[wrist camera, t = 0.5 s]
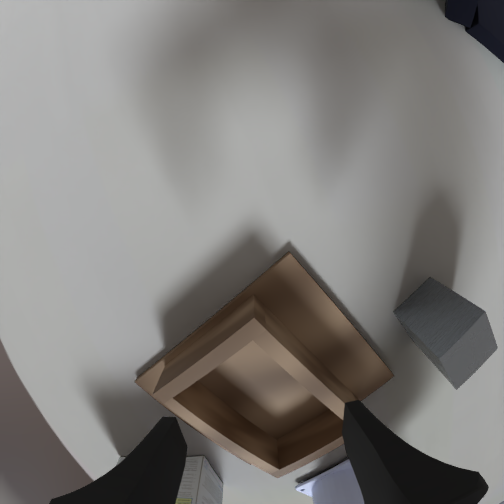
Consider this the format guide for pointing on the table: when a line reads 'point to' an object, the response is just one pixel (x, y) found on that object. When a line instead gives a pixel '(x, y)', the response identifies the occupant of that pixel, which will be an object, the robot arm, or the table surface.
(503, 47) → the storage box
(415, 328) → the steel block
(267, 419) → the walnut well
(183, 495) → the light bulb box
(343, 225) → the table surface
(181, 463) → the robot arm
